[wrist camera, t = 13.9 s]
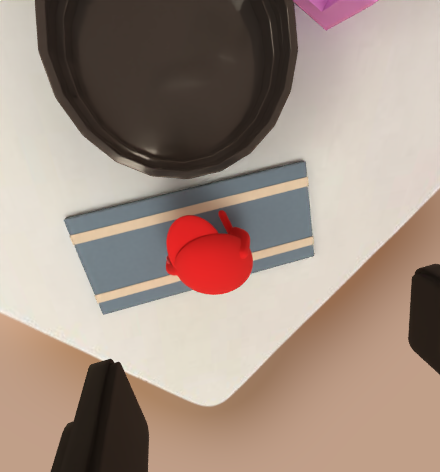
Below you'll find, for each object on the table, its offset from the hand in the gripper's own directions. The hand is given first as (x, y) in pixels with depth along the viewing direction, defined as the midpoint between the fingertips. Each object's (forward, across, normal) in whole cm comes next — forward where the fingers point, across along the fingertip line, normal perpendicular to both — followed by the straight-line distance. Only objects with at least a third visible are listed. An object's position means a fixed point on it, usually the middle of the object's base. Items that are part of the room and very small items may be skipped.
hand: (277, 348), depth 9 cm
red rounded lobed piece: (+17, +1, +3) cm, 17 cm away
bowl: (+18, 0, -10) cm, 21 cm away
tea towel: (+18, +1, +3) cm, 18 cm away
